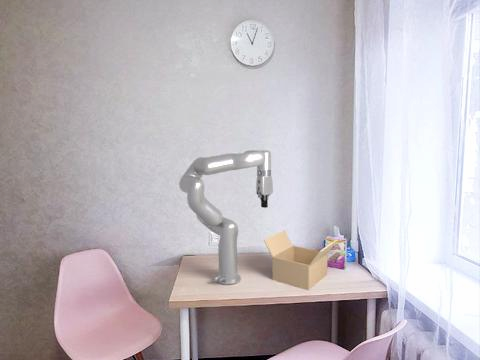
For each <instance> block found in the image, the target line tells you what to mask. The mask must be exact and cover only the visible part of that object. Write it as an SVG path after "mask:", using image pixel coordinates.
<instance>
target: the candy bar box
mask: <svg viewBox="0 0 480 360" xmlns="http://www.w3.org/2000/svg"><path fill="white" fill-rule="evenodd" d="M335 240H338V241H337V242H336V243H335V245H334V246H333V247H332V248H331V250H330V251H329V252H328V253H327V268H328V267H329V268H334V269H339V270H345V269H346V268H347V256H348V255H347V253H348V252H347V251H348V247H347V246H348V239H347V238H344V237H336V236H330V235H327V236H326V237H324V248H325V247H327V246H328V245H330V244H331V243H333V242H334V241H335Z"/></svg>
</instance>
